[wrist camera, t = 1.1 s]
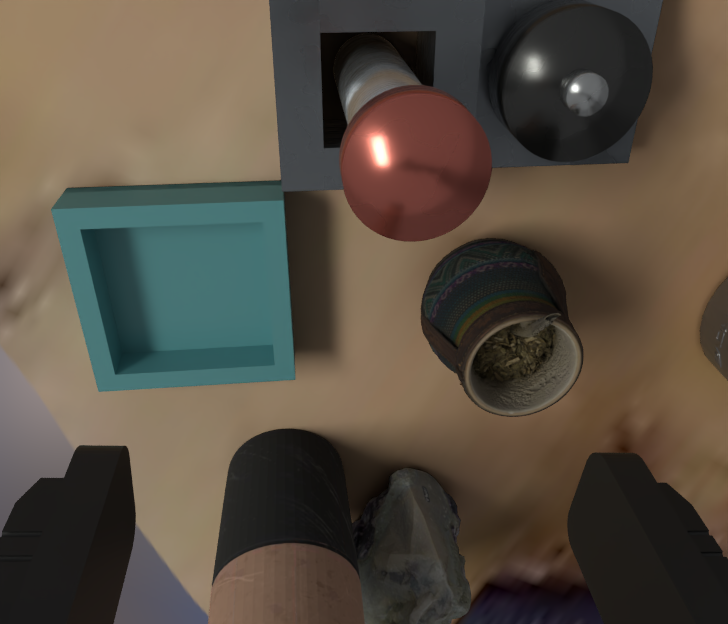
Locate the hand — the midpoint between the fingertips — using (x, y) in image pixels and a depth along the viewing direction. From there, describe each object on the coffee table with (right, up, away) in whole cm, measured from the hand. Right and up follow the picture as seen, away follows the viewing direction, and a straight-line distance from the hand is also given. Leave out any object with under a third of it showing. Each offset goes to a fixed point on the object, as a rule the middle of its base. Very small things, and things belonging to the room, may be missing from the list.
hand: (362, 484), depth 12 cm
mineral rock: (0, -11, +34) cm, 36 cm away
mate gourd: (+6, +5, +25) cm, 26 cm away
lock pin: (0, +14, +18) cm, 23 cm away
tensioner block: (+4, +14, +18) cm, 24 cm away
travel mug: (-5, -7, +30) cm, 32 cm away
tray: (-9, +5, +23) cm, 25 cm away
